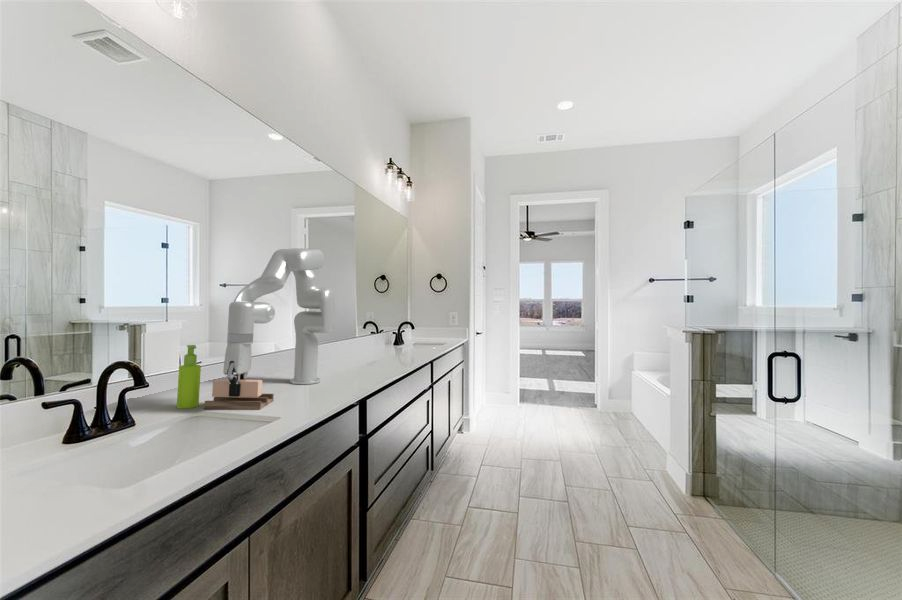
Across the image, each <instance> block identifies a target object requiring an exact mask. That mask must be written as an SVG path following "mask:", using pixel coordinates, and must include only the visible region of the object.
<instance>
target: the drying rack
mask: <svg viewBox="0 0 902 600" xmlns="http://www.w3.org/2000/svg"><path fill="white" fill-rule="evenodd" d="M274 397H275V395H274V393H262V395H260V396H259V397H213V399H212V400H204V406H203V407H204V410H251V411H253V410H262V409H263V408H265V407H266V406H268V405H269V404H271V403H273V402H274Z"/></svg>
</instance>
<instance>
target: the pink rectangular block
mask: <svg viewBox="0 0 902 600" xmlns="http://www.w3.org/2000/svg"><path fill="white" fill-rule="evenodd" d="M239 384H240V396H238V397H259V396H260V395H262V394H263V393H262V390H263V379H247V380H240V381H239ZM211 392H212V393H211V397H213V398H214V397H235V396H229V379H228V378H226V379H223V378H217V379H216V380H215V379H214V380H212V391H211Z"/></svg>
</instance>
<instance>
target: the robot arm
mask: <svg viewBox="0 0 902 600" xmlns="http://www.w3.org/2000/svg"><path fill="white" fill-rule="evenodd" d="M324 264H325V254H324V253H323V251H322V250H320V248H319V249H318V248H279V249H277V250H276V251H274V252H273V254H272V255H271V257H270V259H269V261H268V263H267V264H266V267H265V269H264V270H263V272H262V273H261V275H260V276H259V277H258V278H255V279H254V280H253V281H251V282H249V284H247V285H245V286H244V287H243V288H241V290H240V291H238V293H237V295H236V297H235V299H234V300H233V301H231V302H230V303H229V305H228V318H227V320H228V321H227V337H226V338H227V339H226V344H227V345H226V348H225V354H224V362H223V374H224V375H226V379H229V396H235V397H238V396H240V384H239V381H240V380H248V373H249V371H250V370H251V368H252V344H254V330H255V329H254V327H255V324H259V325H260V324H261V325H263V324H267V323H270V322H271V321H272V320H273V319H274V318H275V317H276V315H275V314H276V311H275V308H274V306H273V305H272V304H270V303H268V302H263V301H256V300H257V299H259V298H262V296H266V295H269V294H272V293H275V292H278V291H280V290H282V289H283V288H284V286H285V284H286V283H287V280H288V278H289V276H290V274H291V272H292V273H293V275H294V278H295V294H296V302H297V306H298V307H300V308H301V309H311V310H304V311H299V312H298V313H297V314H295V316H294V318H293V324H294V331H295V348H294V349H295V350H294V369H293V370H294V372H293V378H291V379H290V380H289V383H290V384H293V385H314V384H317V383H321V378H319V377H318V358H319V355H318V354H319V341H318V338H317V336H316V335H315V334H330V333H332V332H333V331H334V329H335V325H336V313H335V310H336V309H335V296H334V293H333V291H332V290H331V289H330V288H329V287H328V288H327V287H318V285H317V277H316V274H315V272H314V271H315V270H319V269H321V268H323V266H324ZM312 310H313V311H312ZM317 310H319V311H317Z"/></svg>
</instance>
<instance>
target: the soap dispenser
mask: <svg viewBox="0 0 902 600" xmlns="http://www.w3.org/2000/svg"><path fill="white" fill-rule="evenodd" d="M186 347H187V354H185V355H183V357H184V358H183V365H179V366H178V376H177V377H178V380H177V398H176V399H177V400H176V408H177V409H180V410H181V409H183V410H184V409H192V408H193V409H194V408H196V407H197V408H198V407H199V405H200V390H201V389H200V386H201V372H202V371H201V370H202V369H201V367H202V366H201V365H200V364H197V361H198V360H197V357H198V355H197V354H195V350H196V349H197V345H196V344H186Z"/></svg>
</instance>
